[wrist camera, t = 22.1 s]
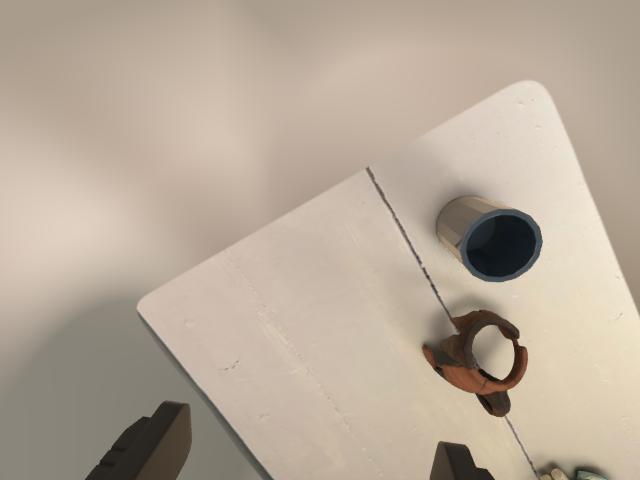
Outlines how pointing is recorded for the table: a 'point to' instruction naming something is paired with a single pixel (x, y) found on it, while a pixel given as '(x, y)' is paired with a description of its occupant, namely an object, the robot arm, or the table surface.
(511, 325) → the brown broken clay pot
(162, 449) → the robot arm
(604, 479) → the stuffed animal
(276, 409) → the table surface
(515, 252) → the cup
